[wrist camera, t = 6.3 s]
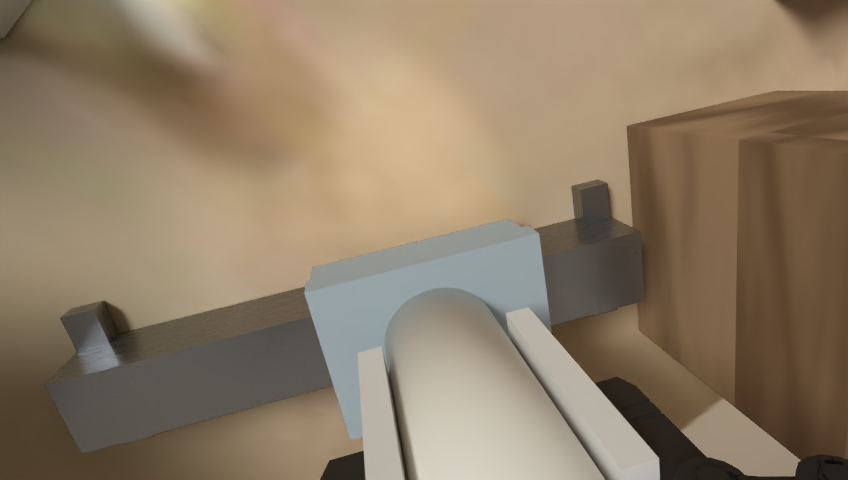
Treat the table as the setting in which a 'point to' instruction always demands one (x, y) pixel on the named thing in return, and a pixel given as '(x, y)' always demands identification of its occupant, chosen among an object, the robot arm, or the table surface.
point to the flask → (10, 14)
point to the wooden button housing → (752, 256)
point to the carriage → (450, 353)
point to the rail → (290, 339)
